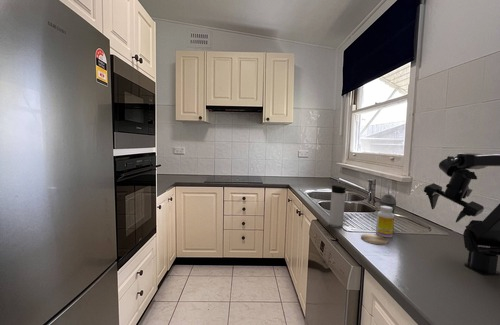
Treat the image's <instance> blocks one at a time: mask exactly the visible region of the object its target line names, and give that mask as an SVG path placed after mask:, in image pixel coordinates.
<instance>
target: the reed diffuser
mask: <svg viewBox="0 0 500 325" xmlns="http://www.w3.org/2000/svg"><path fill="white" fill-rule="evenodd" d="M387 188H388V189H387V194H384V195H382V197H381V198H380V201H379V204H380V207H381V206H389V207H392V208H393V210H392V213H393V214H395V209H396V207H397V200H396V198H395V196H393V195H391V194H390V185H388V187H387Z"/></svg>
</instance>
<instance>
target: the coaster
mask: <svg viewBox="0 0 500 325" xmlns="http://www.w3.org/2000/svg"><path fill="white" fill-rule="evenodd" d="M360 237H361V240H363V242H366V243H369V244H373V245H378V246H379V245H381V246H383V245H387V244H388V242H389V241H388V239H387V237H382V236H379V235H377V234H372V233H362V235H361V236H360Z"/></svg>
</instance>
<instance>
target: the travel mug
mask: <svg viewBox="0 0 500 325" xmlns="http://www.w3.org/2000/svg"><path fill="white" fill-rule="evenodd" d="M345 203H346V187H343V186H339V185H334V184H332V186H331V194H330V210H329V224H328V225H329V226H330V227H331V228H337V229H339V228H343V226H344V215H345V205H346V204H345Z"/></svg>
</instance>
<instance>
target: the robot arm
mask: <svg viewBox="0 0 500 325" xmlns="http://www.w3.org/2000/svg"><path fill="white" fill-rule="evenodd" d="M487 167H500V153H499V154H483V153H471V152H470V153H469V152H468V153H467V152H460V153H457V154H456V155H455V156H450V155H448V156H447V157H446V158H444V159H442V160H441V161H440V162H439V163H438V168H439V169H440V170H441V171H442V172H443V173H444V174H445V175H446V176H447V177H450V179H449V181H448V183H447V184H446V186H445V191H444V190H443V187H442V186H440V185H439V184H436V183H434V182H433V183H431V184H427V185H426V186H425V187H424V188H423V192H424V193H425V196H427V197H428V200H429V202H430V203H429V204H430V208H431V209H432V210H434V209H435V208H436V206H437V203H438V200H439V197H443V198H445V199H447V200H449V201H451V202H454V203H455V204H456V205H457V204H458V205H460V206H462V207H463V208H462V210H461V211H460V212H459V214H458V215H457V218H456V219H455V223H458V222H460V221H461V220H462V219H464V218H465V217H476V216H478V215H480V214H481V213H483V212H484V210H485V208H484V205H482V204H480V203H478V202H475V201H473V200H472V201H470V202H467V201H464V200H463V199H466V198H469V197H470V195H471V194H472V192H473V189H471V188H469V185H470V183H471V182H472V180H478V177H477V175H476V174H475V171H472V170H480V169H486V168H487ZM470 170H471V171H470ZM462 236H463V241H464V249H466V250H467V251H468V255H467V256H468V258H467V262H466V263H463V264H464V266H466V267H467V268H470V269H472V270H473V271H475V272H477V273H479V274H481V275H500V271H498V270H497V269H498V262H499V256H500V203H499V204H497V206H495V207H494V209H492V211H490V213H489V214H488V215H486V217H485V218H484V219H483V220H475V219H472V220H471V221H470V222H469V223H468V224H467V225H465V229H464V231H463V234H462Z"/></svg>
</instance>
